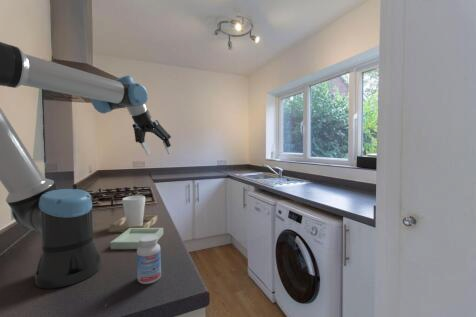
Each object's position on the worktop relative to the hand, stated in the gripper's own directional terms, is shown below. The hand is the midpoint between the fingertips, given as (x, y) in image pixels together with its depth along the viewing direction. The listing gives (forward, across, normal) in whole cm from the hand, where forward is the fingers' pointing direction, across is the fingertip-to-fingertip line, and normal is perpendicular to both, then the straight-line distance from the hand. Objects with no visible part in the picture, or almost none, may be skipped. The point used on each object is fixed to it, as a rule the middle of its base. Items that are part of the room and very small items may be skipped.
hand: (159, 153), depth 111 cm
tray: (+17, -10, +37) cm, 42 cm away
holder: (+22, +6, +27) cm, 35 cm away
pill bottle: (+9, -33, +52) cm, 62 cm away
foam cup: (+22, +6, +27) cm, 36 cm away
